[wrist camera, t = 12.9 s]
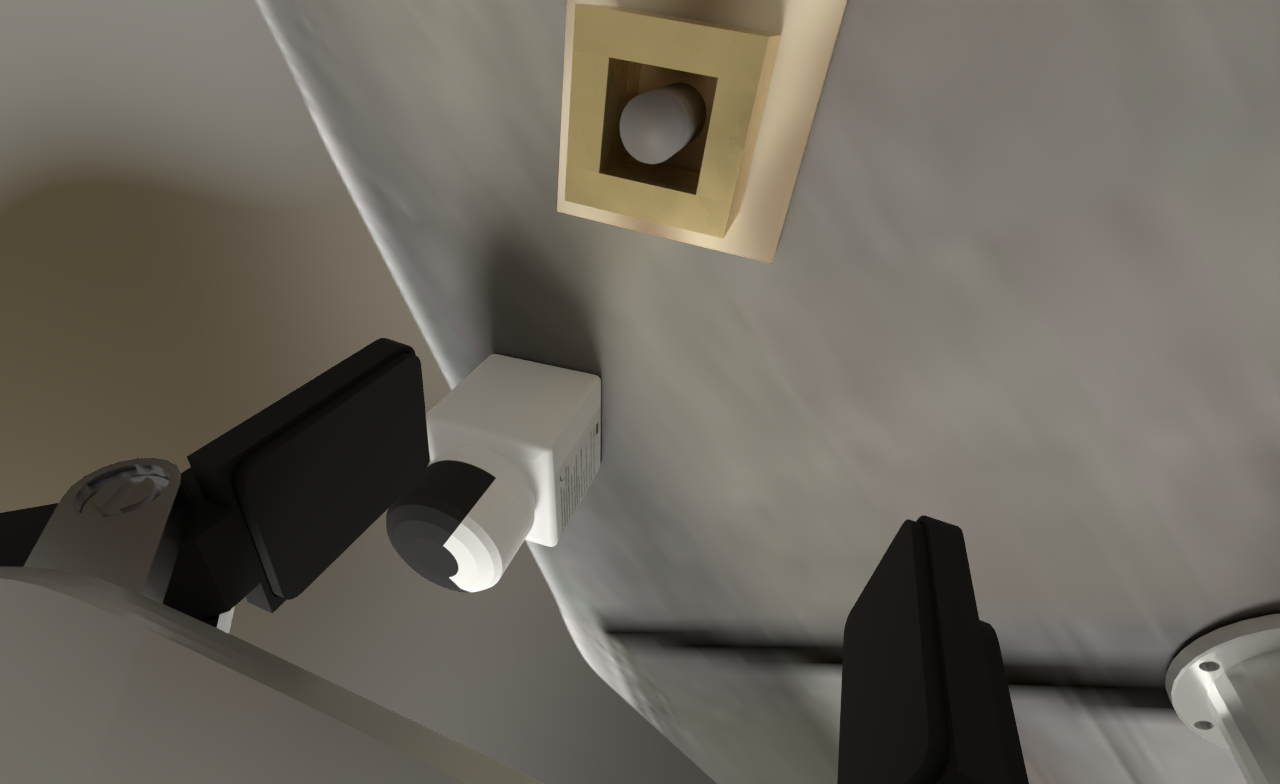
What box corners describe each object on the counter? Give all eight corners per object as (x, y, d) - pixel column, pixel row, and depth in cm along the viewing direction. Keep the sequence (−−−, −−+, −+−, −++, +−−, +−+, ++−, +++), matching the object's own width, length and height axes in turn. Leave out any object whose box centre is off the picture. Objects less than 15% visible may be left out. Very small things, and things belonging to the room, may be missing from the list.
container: (502, 443, 41) (383, 586, 31) (491, 350, 37) (348, 480, 26) (602, 468, 39) (511, 628, 29) (602, 373, 35) (497, 522, 25)
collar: (781, 34, 22) (769, 37, 18) (739, 211, 25) (723, 238, 22) (614, 6, 23) (575, 3, 20) (599, 179, 27) (564, 200, 23)
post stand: (854, -22, 21) (854, -35, 17) (775, 253, 28) (759, 301, 23) (584, -63, 23) (515, -85, 19) (568, 203, 30) (514, 238, 25)
